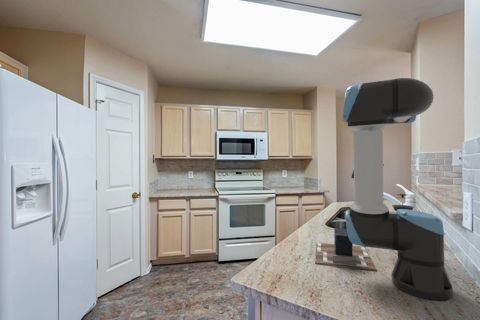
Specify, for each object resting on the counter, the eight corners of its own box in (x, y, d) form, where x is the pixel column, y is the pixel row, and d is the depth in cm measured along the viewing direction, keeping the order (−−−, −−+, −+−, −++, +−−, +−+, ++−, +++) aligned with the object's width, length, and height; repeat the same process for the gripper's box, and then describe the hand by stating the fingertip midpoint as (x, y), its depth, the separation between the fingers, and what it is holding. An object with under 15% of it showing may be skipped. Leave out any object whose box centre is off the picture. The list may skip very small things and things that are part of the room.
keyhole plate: (376, 271, 85) (376, 261, 85) (315, 263, 92) (315, 254, 92) (365, 248, 107) (364, 240, 107) (316, 243, 114) (316, 236, 114)
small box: (353, 264, 89) (353, 236, 90) (335, 262, 92) (334, 234, 92) (350, 254, 99) (350, 229, 100) (333, 252, 102) (333, 227, 102)
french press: (388, 239, 119) (387, 194, 119) (393, 235, 125) (392, 192, 126) (417, 245, 110) (416, 196, 111) (421, 240, 117) (420, 194, 117)
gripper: (392, 136, 103) (393, 182, 95) (358, 157, 126) (357, 195, 119) (376, 132, 103) (376, 177, 95) (345, 153, 126) (343, 191, 118)
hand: (365, 187), depth 107 cm, fingers open, 13 cm apart
